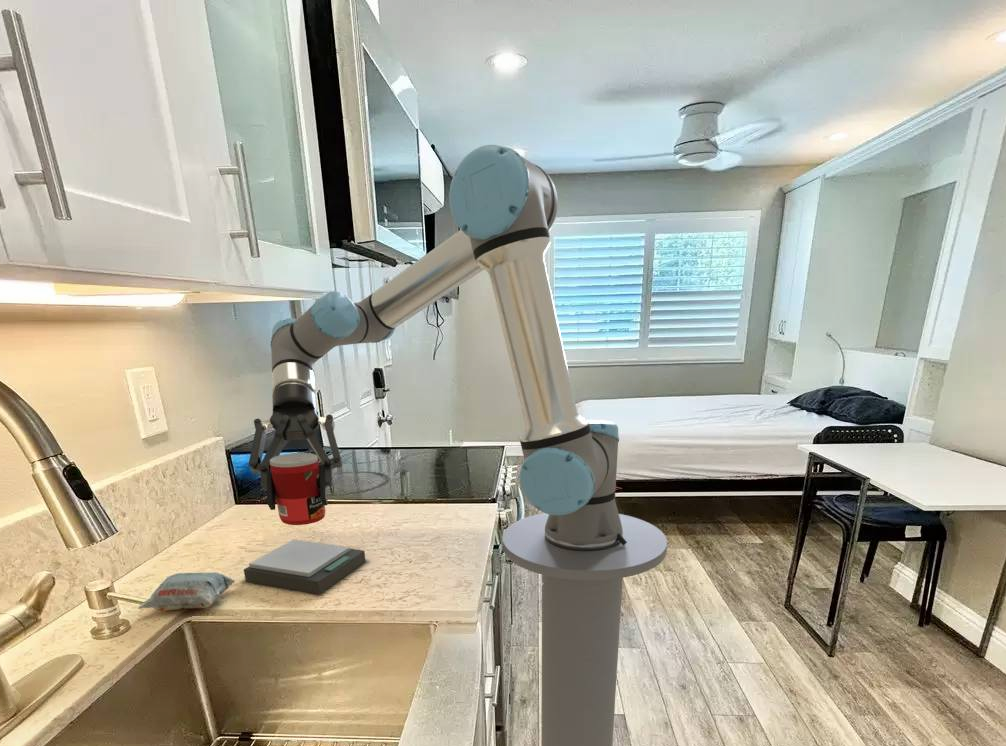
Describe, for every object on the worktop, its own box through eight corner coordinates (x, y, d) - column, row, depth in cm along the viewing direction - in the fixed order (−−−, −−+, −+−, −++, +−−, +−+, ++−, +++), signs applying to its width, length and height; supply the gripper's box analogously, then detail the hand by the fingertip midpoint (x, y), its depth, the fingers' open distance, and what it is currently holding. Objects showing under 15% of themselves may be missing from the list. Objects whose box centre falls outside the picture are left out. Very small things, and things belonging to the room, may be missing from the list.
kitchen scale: (365, 562, 108) (364, 546, 107) (319, 594, 96) (317, 577, 95) (297, 552, 114) (294, 537, 112) (245, 581, 102) (242, 565, 100)
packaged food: (215, 616, 90) (208, 588, 88) (140, 619, 90) (132, 590, 88) (238, 592, 98) (232, 565, 96) (169, 594, 98) (162, 568, 96)
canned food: (319, 525, 98) (310, 462, 94) (273, 526, 98) (261, 464, 94) (331, 510, 105) (323, 451, 101) (288, 511, 105) (278, 453, 101)
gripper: (353, 404, 111) (362, 508, 102) (240, 410, 107) (239, 519, 98) (349, 378, 104) (358, 488, 95) (228, 384, 100) (226, 499, 91)
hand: (297, 503), depth 97 cm, fingers closed on canned food, 8 cm apart
